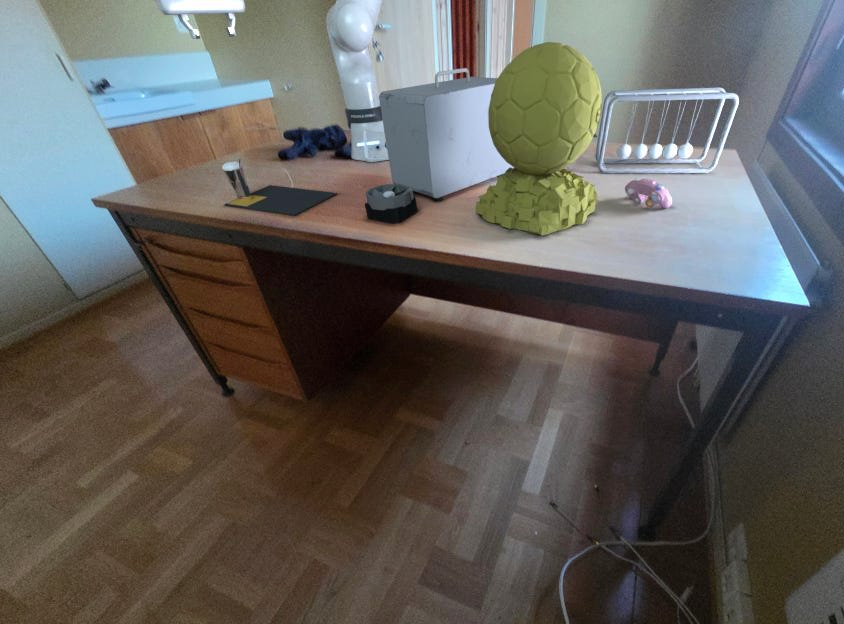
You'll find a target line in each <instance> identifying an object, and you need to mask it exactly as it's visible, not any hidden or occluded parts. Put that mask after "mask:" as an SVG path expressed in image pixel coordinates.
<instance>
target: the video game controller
mask: <svg viewBox="0 0 844 624" xmlns="http://www.w3.org/2000/svg"><path fill="white" fill-rule="evenodd" d="M624 191H625V193H626V194H627V197H628V198H629V199H632V202H633V203H634V204H636V205H641V204H643V202H644V205H645V206H646V207H647V208H649V209H653V208H654V207H655V206H656V205H659V206H660V207H662V208H664V209H669V208H671V206H672V204H673V198H672V196H671V195H670V193H669V190H668V189H667V187H665V185H664V184H662V183H658V182H656V181H655V180H652V179H650V178H642V179H640V178H638V177H635V178H634V179H633V180H631V181H629V182H628V183H626V185H625V186H624ZM645 196H646V197H647V198H646V200H645Z"/></svg>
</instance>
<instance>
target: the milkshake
mask: <svg viewBox="0 0 844 624" xmlns="http://www.w3.org/2000/svg"><path fill="white" fill-rule="evenodd" d="M221 169H222V171H223V173H224V175H225V177H226V178H227V181H228V183H229V184H230V186H231V189H232V190H233V193H234V194H235V196H236V199H238V200H239V201H240V202H246V201H250V200H251V199H252V197H251V194H250V193H251V191H250V188H249V185H248V181H247V179H246V175H245V172H244V169H243V165H242V164H241V158H238V162H237V161H228V162H225V163H224V164H223V165H222V167H221Z"/></svg>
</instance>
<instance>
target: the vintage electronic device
mask: <svg viewBox="0 0 844 624" xmlns="http://www.w3.org/2000/svg"><path fill="white" fill-rule="evenodd" d="M462 73H465V76H466V77H463V78H462V77H461V78H456V79H450V80H443V81H439V77H442V76H447V75H454V74H462ZM497 79H498V77H481V76H470V71H469V69H468V68H466V67H463V68H456V69H449V70H448V69H447V70H441V71H437V72H436V73H435V76H434V82H432V83H426V84H419V85H413V86H407V87H401V88H395V89H389V90H383V91H381V92H379V101H380V107H381V113H382V120H383V126H384V132H385V139H386V145H387V151H388V157H389V160H388V163H389V169H390V176H391V182H392V184H403V185H406V186H408V187H412V188H413V193H414V192H415V193H418V194H421V195H424V196H427V197H430V198H433V201H434V202H442V201H444V197H445V196H447V195H450V194H453V193H455V192H458V191H461V190H463V189H467V188H469V187H472V186H474V185H477V184H480V183H483V182H485V181H488V180H491V179H493V178H496V177H498V176H501V175H504V174H505V172H506V170H507V169H509V168H510V167H511V168H512V169H514V167H513V166H511V165H510V164H508V163H507V162H506V161H505V160H504V159H503V158H502V156H501V155H500V154H499V153H498V151H497V149H496V148H495V146H494V144H493V141H492V138H491V135H490V131H489V120H488V110H489V104H490V99H491V94H492V91H493V88H494V85H495V82H496V80H497Z"/></svg>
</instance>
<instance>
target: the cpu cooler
mask: <svg viewBox="0 0 844 624" xmlns="http://www.w3.org/2000/svg"><path fill="white" fill-rule="evenodd" d="M365 198H366V202H365V203H364V208H365V212H366V217H367V220H372V221H377V222H382V223H387V224H396V223H399V224H400V223H402V222H403V221H405V220H406V219H408V218H409V217H412V216H413V215H415V214H416V213H418V205H417V198H416V195H415V196H414V191H413V188H412V187H408V186H406V185H403V184H393V183H386V184H381V185H376V186H373V187H370V188H368V189H367V191H366V192H365Z"/></svg>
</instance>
